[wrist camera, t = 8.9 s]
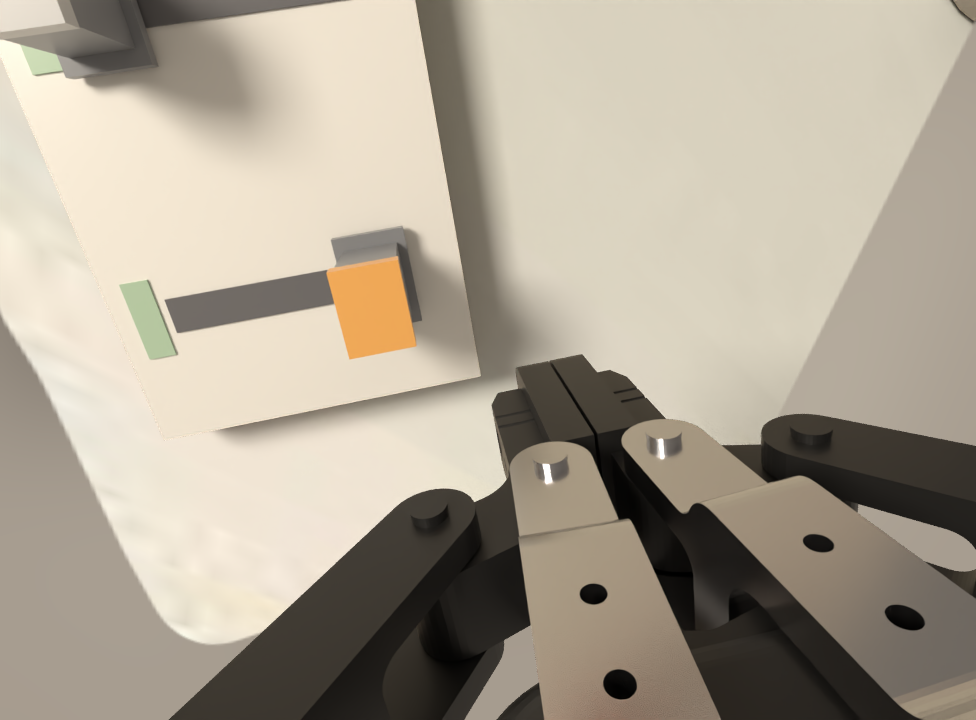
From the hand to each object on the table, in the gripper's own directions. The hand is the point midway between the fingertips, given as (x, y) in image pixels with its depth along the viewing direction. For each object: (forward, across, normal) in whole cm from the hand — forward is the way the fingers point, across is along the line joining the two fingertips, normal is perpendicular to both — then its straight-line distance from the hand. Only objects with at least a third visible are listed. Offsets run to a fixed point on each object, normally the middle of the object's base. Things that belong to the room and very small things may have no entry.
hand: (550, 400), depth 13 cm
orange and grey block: (+15, +5, 0) cm, 16 cm away
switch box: (+18, +9, -7) cm, 21 cm away
